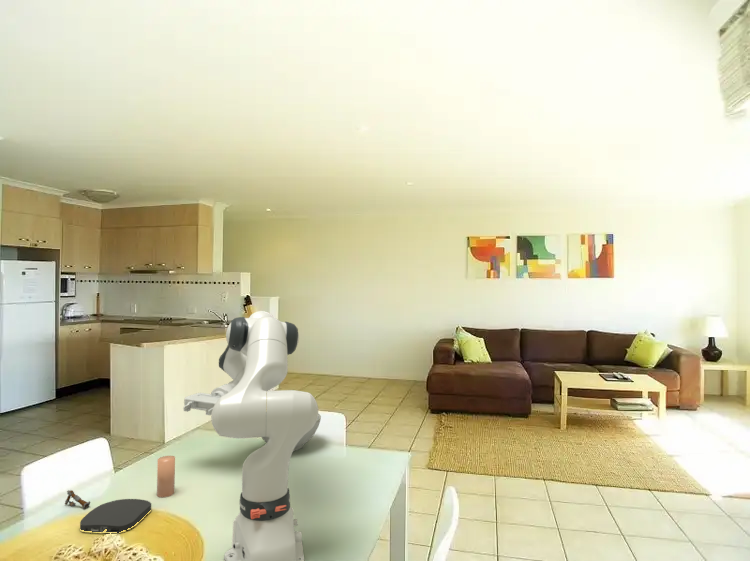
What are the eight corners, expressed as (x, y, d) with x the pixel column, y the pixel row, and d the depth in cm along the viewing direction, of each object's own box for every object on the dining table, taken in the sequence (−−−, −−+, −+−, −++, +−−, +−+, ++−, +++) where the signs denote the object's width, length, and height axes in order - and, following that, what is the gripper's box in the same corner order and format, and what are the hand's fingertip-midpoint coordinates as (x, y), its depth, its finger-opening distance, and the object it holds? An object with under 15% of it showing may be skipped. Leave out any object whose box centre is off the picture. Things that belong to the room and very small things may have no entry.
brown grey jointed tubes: (66, 500, 132) (71, 487, 132) (85, 514, 131) (90, 501, 130) (60, 503, 131) (65, 489, 130) (80, 517, 129) (85, 504, 128)
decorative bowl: (282, 432, 200) (282, 406, 200) (332, 442, 188) (333, 413, 188) (239, 451, 176) (240, 421, 176) (294, 463, 164) (295, 431, 164)
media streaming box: (156, 508, 130) (156, 498, 130) (127, 535, 116) (127, 524, 116) (107, 507, 131) (107, 497, 131) (72, 534, 116) (73, 523, 116)
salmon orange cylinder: (174, 495, 138) (175, 460, 138) (156, 498, 136) (157, 462, 136) (174, 489, 142) (175, 454, 143) (157, 491, 140) (157, 456, 141)
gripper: (199, 386, 167) (171, 398, 154) (245, 392, 160) (220, 405, 147) (200, 402, 168) (172, 415, 155) (245, 409, 161) (220, 424, 148)
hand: (196, 411), depth 151 cm, fingers open, 8 cm apart
